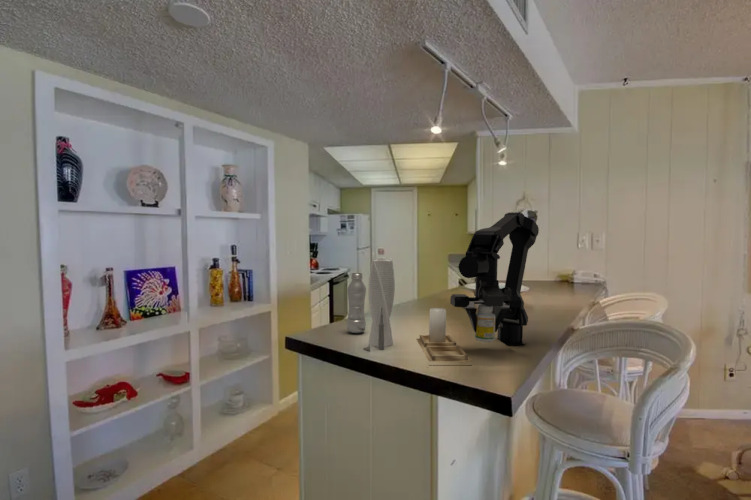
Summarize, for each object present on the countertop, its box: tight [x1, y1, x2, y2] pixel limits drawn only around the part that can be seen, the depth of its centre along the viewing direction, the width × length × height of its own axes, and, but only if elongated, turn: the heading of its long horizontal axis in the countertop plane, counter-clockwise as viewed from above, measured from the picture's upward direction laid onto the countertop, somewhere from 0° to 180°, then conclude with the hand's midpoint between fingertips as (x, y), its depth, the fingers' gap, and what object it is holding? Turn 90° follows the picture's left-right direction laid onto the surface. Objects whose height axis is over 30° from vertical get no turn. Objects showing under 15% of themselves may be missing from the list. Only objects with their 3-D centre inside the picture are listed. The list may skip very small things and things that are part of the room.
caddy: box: [416, 334, 473, 367], centre depth 111 cm, size 11×22×2 cm, turn 3°
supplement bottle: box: [474, 304, 496, 343], centre depth 110 cm, size 5×5×10 cm
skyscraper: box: [362, 251, 396, 352], centre depth 114 cm, size 8×8×28 cm
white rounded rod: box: [428, 307, 447, 342], centre depth 117 cm, size 5×5×10 cm
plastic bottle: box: [346, 272, 367, 334], centre depth 133 cm, size 6×7×20 cm
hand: (485, 331), depth 110 cm, fingers closed on supplement bottle, 5 cm apart
